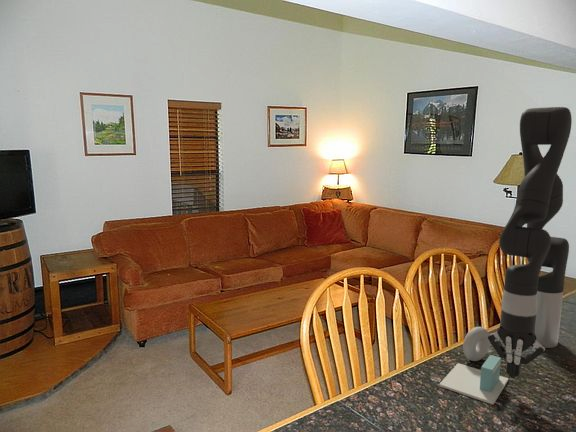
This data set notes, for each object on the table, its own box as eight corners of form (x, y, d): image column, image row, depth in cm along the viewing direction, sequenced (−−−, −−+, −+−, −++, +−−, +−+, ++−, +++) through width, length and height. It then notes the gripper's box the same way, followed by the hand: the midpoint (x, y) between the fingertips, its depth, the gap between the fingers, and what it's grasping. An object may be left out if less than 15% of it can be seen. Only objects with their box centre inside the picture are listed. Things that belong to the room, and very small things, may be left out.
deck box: (488, 376, 119) (490, 354, 118) (499, 379, 117) (501, 357, 116) (479, 389, 113) (481, 366, 112) (490, 392, 111) (492, 370, 110)
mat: (457, 365, 126) (457, 363, 126) (508, 380, 118) (508, 378, 118) (439, 386, 115) (439, 384, 115) (493, 404, 107) (493, 402, 107)
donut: (469, 367, 125) (472, 333, 123) (459, 362, 128) (461, 328, 126) (491, 358, 130) (494, 325, 128) (481, 353, 133) (483, 321, 131)
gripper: (552, 310, 107) (546, 378, 110) (493, 298, 115) (488, 362, 118) (547, 320, 101) (540, 391, 104) (485, 307, 109) (480, 373, 112)
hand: (512, 376), depth 111 cm, fingers closed
